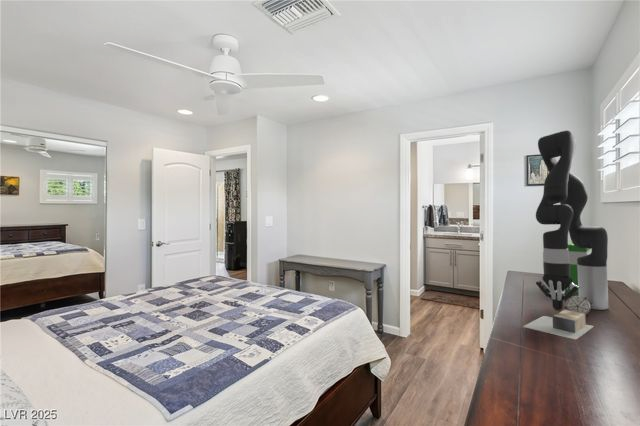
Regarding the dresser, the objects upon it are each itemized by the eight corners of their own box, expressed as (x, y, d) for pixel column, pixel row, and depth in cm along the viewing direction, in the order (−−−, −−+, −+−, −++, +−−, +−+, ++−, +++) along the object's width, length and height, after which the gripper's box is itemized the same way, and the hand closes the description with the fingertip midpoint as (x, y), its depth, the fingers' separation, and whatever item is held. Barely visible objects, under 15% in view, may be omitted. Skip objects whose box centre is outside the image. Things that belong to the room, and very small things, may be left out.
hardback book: (574, 288, 158) (571, 241, 159) (593, 291, 153) (591, 242, 153) (568, 295, 146) (565, 244, 146) (588, 298, 141) (586, 245, 141)
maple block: (552, 316, 107) (564, 309, 113) (553, 328, 107) (564, 320, 113) (574, 320, 102) (585, 313, 108) (574, 333, 102) (585, 325, 108)
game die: (585, 327, 117) (604, 310, 111) (561, 318, 118) (578, 301, 113) (578, 309, 124) (594, 292, 118) (555, 301, 126) (570, 284, 120)
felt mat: (543, 316, 119) (543, 315, 119) (594, 327, 107) (594, 326, 107) (522, 327, 109) (522, 326, 109) (576, 340, 97) (575, 339, 97)
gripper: (530, 260, 113) (532, 308, 113) (575, 264, 102) (578, 317, 102) (539, 258, 118) (541, 304, 117) (583, 261, 107) (585, 312, 107)
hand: (558, 310), depth 110 cm, fingers closed
